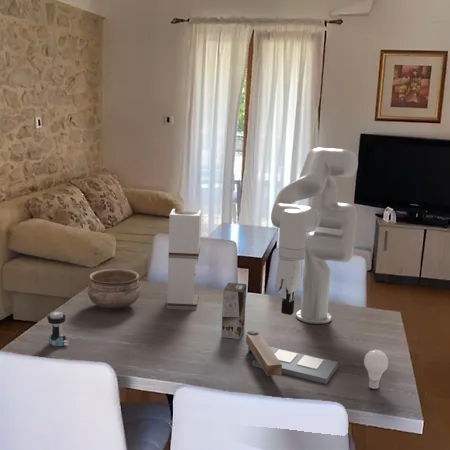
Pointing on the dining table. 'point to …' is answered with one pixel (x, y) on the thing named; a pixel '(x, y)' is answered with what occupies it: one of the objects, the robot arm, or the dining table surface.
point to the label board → (303, 365)
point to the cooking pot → (114, 288)
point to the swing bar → (263, 354)
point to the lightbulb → (375, 366)
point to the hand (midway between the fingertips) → (287, 313)
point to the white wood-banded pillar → (183, 259)
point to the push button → (56, 329)
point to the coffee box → (233, 310)
